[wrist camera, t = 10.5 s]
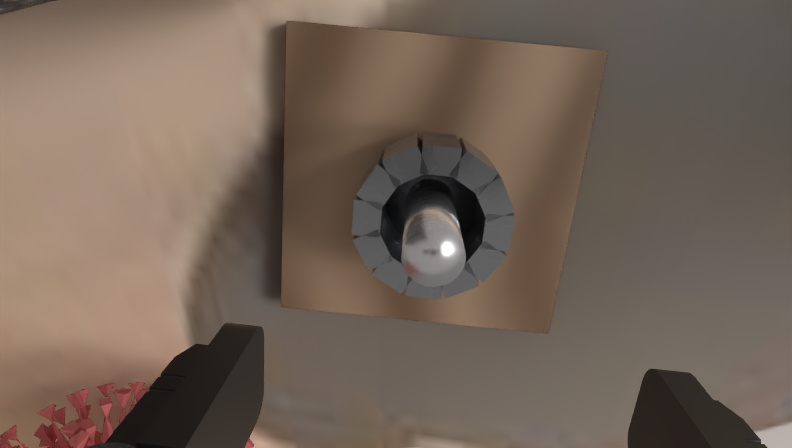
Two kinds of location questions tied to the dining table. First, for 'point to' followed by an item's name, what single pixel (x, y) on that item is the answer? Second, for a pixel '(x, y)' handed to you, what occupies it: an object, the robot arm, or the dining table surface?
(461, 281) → the ring
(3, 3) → the concrete block
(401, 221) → the post
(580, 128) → the board
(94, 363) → the dining table surface
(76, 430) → the virus model
